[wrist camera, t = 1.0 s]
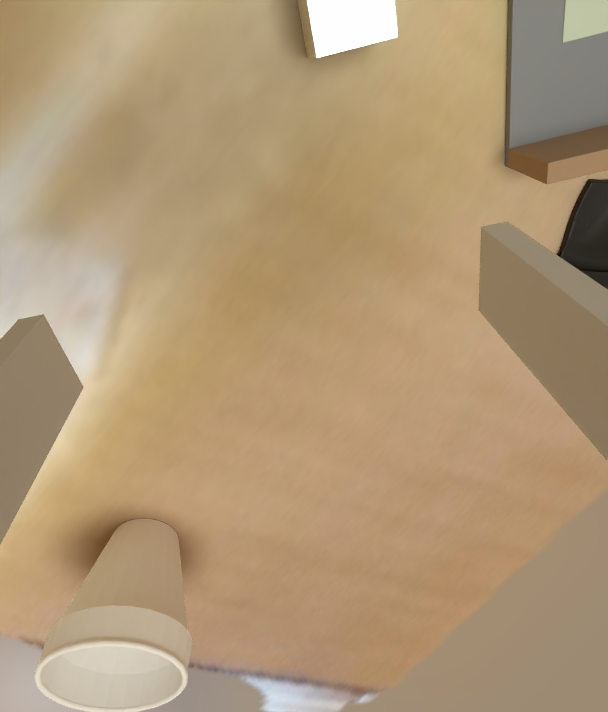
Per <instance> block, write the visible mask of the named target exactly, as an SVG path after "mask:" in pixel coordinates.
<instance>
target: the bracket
mask: <svg viewBox="0 0 608 712" xmlns="http://www.w3.org/2000/svg"><path fill="white" fill-rule="evenodd" d="M297 3H298V9H299V14H300V20H301V26H302V31H303V37H304V42H305V48H306V54H307V57H311V58H318V57H322V56H326V55H330V54H334V53H338V52H342V51H345V50H349V49H353V48H357V47H361V46H365V45H369V44H373V43H377V42H381V41H384V40H388V39H392V38H396V37H398V35H397V24H396V12H395V1H394V0H297Z"/></svg>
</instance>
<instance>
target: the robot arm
mask: <svg viewBox="0 0 608 712" xmlns="http://www.w3.org/2000/svg"><path fill="white" fill-rule="evenodd" d="M479 311H480V312H481V314H482V315H483V316H484V317H485V318H486V319H487V321H488V322H489V323H490V324H491V325H492V326H493V328H494V329H495V330H496V331H497V332H498V333H499V335H500V336H501V337H502V338H503V339H504V340H505V342H506V343H507V344H508V345H509V346H510V348H511V349H512V350H513V351H514V352H515V353H516V355H517V356H518V357H519V358H520V359H521V360H522V362H523V363H524V364H525V365H526V366H527V367H528V369H529V370H530V371H531V372H532V373H533V374H534V376H535V377H536V378H537V379H538V380H539V381H540V383H541V384H542V385H543V386H544V387H545V389H546V390H547V391H548V392H549V393H550V394H551V396H552V397H553V398H554V399H555V400H556V401H557V403H558V404H559V405H560V406H561V407H562V408H563V410H564V411H565V412H566V413H567V414H568V415H569V417H570V418H571V419H572V420H573V421H574V422H575V424H576V425H577V426H578V427H579V428H580V429H581V431H582V432H583V433H584V434H585V435H586V437H587V438H588V439H589V440H590V441H591V442H592V444H593V445H594V446H595V447H596V448H597V449H598V451H599V452H600V453H601V454H602V455H603V456H604V458H605V459H606V460H608V285H606V286H602V285H600V284H599V283H597V282H596V281H594V280H593V279H591V278H590V277H589V276H587V275H586V274H584V273H583V272H581V271H580V270H578V269H577V268H575V267H574V266H572V265H571V264H569V263H568V262H566V261H565V260H563V259H562V258H560V257H559V256H558V255H556V254H555V253H553V252H552V251H550V250H549V249H547V248H546V247H544V246H543V245H541V244H540V243H538V242H537V241H535V240H534V239H532V238H531V237H529V236H528V235H527V234H525V233H524V232H522V231H521V230H519V229H518V228H516V227H515V226H513V225H512V224H510V223H509V222H503V223H498V224H493V225H488V226H483V227H481V247H480V279H479ZM82 389H83V385H82V383H81V382H80V380H79V378H78V376H77V374H76V373H75V371H74V369H73V367H72V365H71V364H70V362H69V360H68V358H67V356H66V354H65V353H64V351H63V349H62V347H61V345H60V344H59V342H58V340H57V338H56V336H55V335H54V333H53V331H52V329H51V327H50V325H49V324H48V322H47V320H46V318H45V316H44V315H39V316H34V317H29V318H24V319H19V320H18V321H17V322H16V323H15V324H14V325H13V326H12V327H11V329H10V330H9V331H8V332H7V333H6V334H5V335H4V336H3V337H2V338H1V340H0V544H1V542H2V540H3V538H4V536H5V535H6V533H7V531H8V529H9V527H10V525H11V523H12V521H13V519H14V518H15V516H16V514H17V512H18V510H19V508H20V506H21V504H22V502H23V501H24V499H25V497H26V495H27V493H28V491H29V489H30V487H31V485H32V484H33V482H34V480H35V478H36V476H37V474H38V472H39V470H40V468H41V467H42V465H43V463H44V461H45V459H46V457H47V455H48V453H49V451H50V450H51V448H52V446H53V444H54V442H55V440H56V438H57V436H58V434H59V433H60V431H61V429H62V427H63V425H64V423H65V421H66V419H67V417H68V416H69V414H70V412H71V410H72V408H73V406H74V404H75V402H76V400H77V399H78V397H79V395H80V393H81V391H82Z"/></svg>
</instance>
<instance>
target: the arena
mask: <svg viewBox="0 0 608 712" xmlns="http://www.w3.org/2000/svg"><path fill="white" fill-rule="evenodd" d="M505 166H507V167H509V168H512V169H514V170H516V171H518V172H520V173H523V174H525V175H527V176H529V177H532V178H534V179H536V180H538V181H540V182H543V183H545V184H550V183H555V182H559V181H563V180H567V179H572V178H576V177H580V176H584V175H588V174H593V173H597V172H601V171H605V170H608V0H508V44H507V92H506V141H505Z"/></svg>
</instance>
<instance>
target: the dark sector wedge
mask: <svg viewBox="0 0 608 712" xmlns="http://www.w3.org/2000/svg"><path fill="white" fill-rule="evenodd" d="M559 257H560V258H562V259H563V260H565V261H566V262H568V263H569V264H571V265H572V266H574V267H575V268H577V269H578V270H580V271H581V272H583V273H584V274H586V275H587V276H589V277H590V278H591V279H593V280H594V281H596V282H597V283H599V284H600V285H602V286H606V285H608V180H597V179H588V181H587V183H586V185H585V187H584V189H583V190H582V192H581V194H580V196H579V198H578V200H577V202H576V204H575V206H574V209H573V211H572V214H571V216H570V219H569V222H568V224H567V227H566V231H565V234H564V238H563V241H562V246H561V251H560V255H559Z"/></svg>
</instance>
